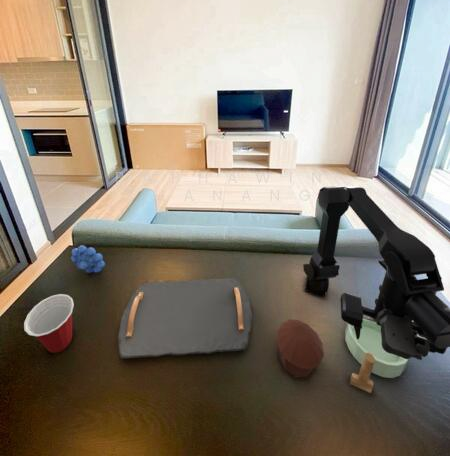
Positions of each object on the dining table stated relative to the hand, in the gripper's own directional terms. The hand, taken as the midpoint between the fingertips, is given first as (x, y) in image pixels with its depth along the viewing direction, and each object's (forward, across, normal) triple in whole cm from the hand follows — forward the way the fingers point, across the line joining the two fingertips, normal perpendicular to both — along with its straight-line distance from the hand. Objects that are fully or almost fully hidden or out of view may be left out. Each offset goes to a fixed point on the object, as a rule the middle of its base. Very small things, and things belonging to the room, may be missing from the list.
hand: (379, 345), depth 56 cm
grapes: (+12, -91, -2) cm, 92 cm away
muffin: (+12, -17, -2) cm, 21 cm away
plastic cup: (+12, -79, -23) cm, 83 cm away
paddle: (+12, -2, -2) cm, 13 cm away
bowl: (+12, +2, +8) cm, 15 cm away
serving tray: (+12, -49, -3) cm, 51 cm away
